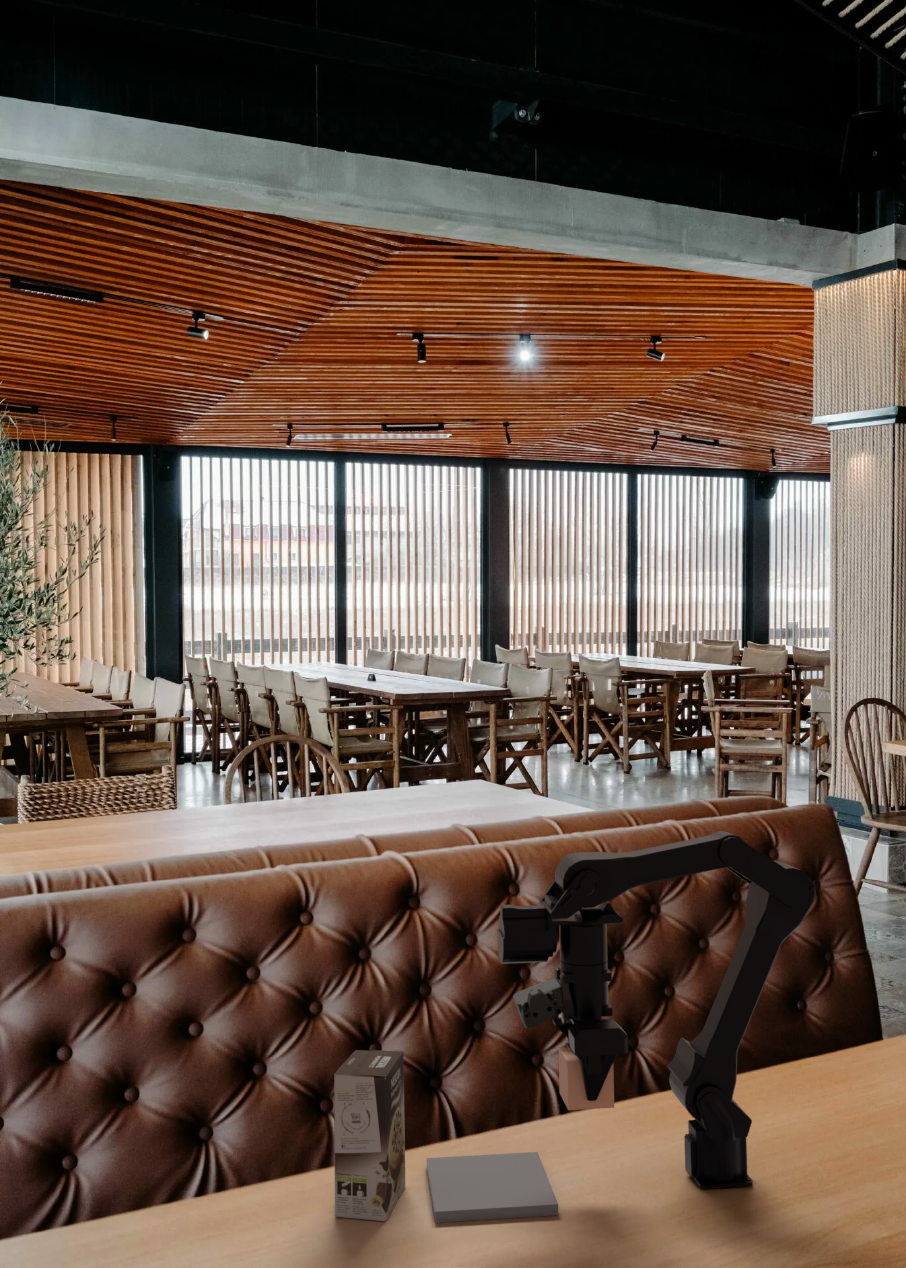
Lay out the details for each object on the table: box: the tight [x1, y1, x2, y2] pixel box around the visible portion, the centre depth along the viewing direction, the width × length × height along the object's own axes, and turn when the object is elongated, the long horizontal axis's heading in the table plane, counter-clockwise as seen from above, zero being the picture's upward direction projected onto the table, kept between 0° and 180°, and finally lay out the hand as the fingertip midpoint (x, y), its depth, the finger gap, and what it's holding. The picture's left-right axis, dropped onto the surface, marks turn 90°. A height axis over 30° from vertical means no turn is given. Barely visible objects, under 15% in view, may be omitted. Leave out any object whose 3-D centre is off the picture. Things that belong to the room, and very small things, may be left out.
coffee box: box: [333, 1049, 406, 1222], centre depth 128 cm, size 9×6×16 cm
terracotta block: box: [558, 1046, 615, 1111], centre depth 131 cm, size 6×6×6 cm
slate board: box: [426, 1151, 559, 1224], centre depth 130 cm, size 14×14×1 cm
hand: (586, 1091), depth 131 cm, fingers closed on terracotta block, 5 cm apart
